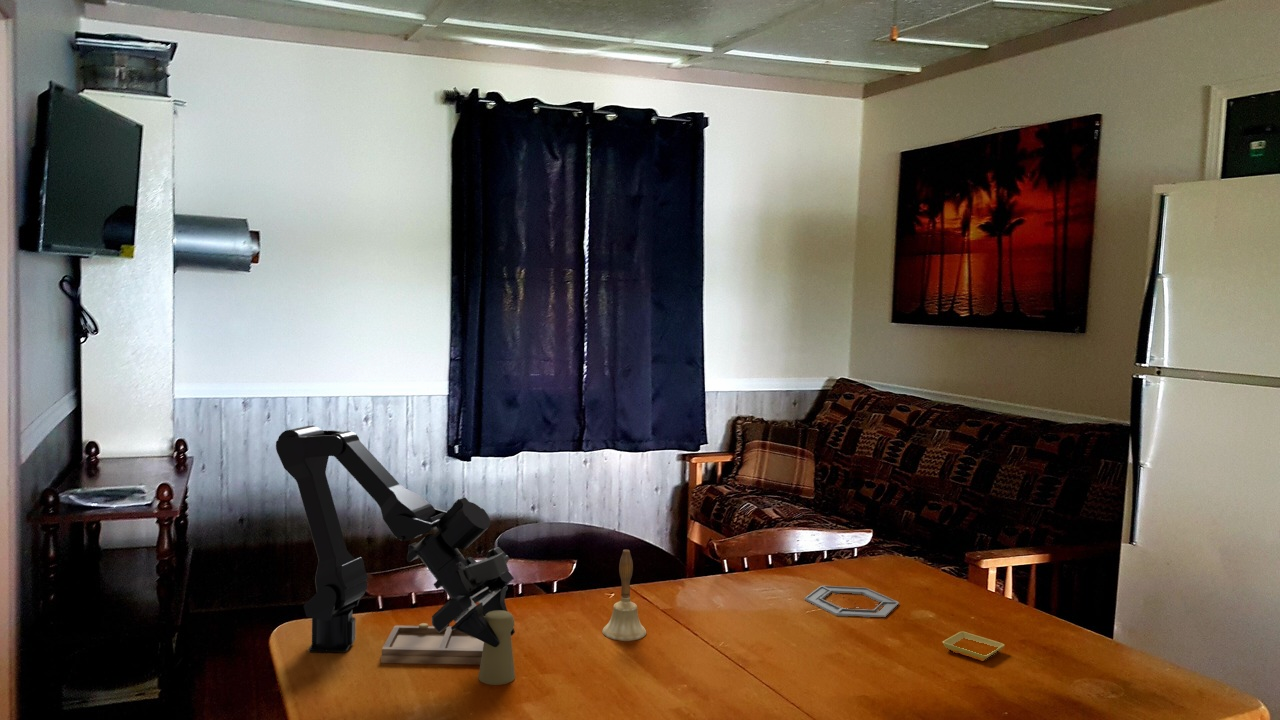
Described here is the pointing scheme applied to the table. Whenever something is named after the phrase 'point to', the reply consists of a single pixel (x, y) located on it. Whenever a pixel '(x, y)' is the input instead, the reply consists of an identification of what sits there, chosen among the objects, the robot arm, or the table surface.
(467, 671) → the table surface
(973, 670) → the table surface
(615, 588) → the table surface
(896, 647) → the table surface
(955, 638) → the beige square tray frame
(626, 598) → the hand bell
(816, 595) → the grey hexagonal frame
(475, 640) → the divided tray
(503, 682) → the olive pepper mill
